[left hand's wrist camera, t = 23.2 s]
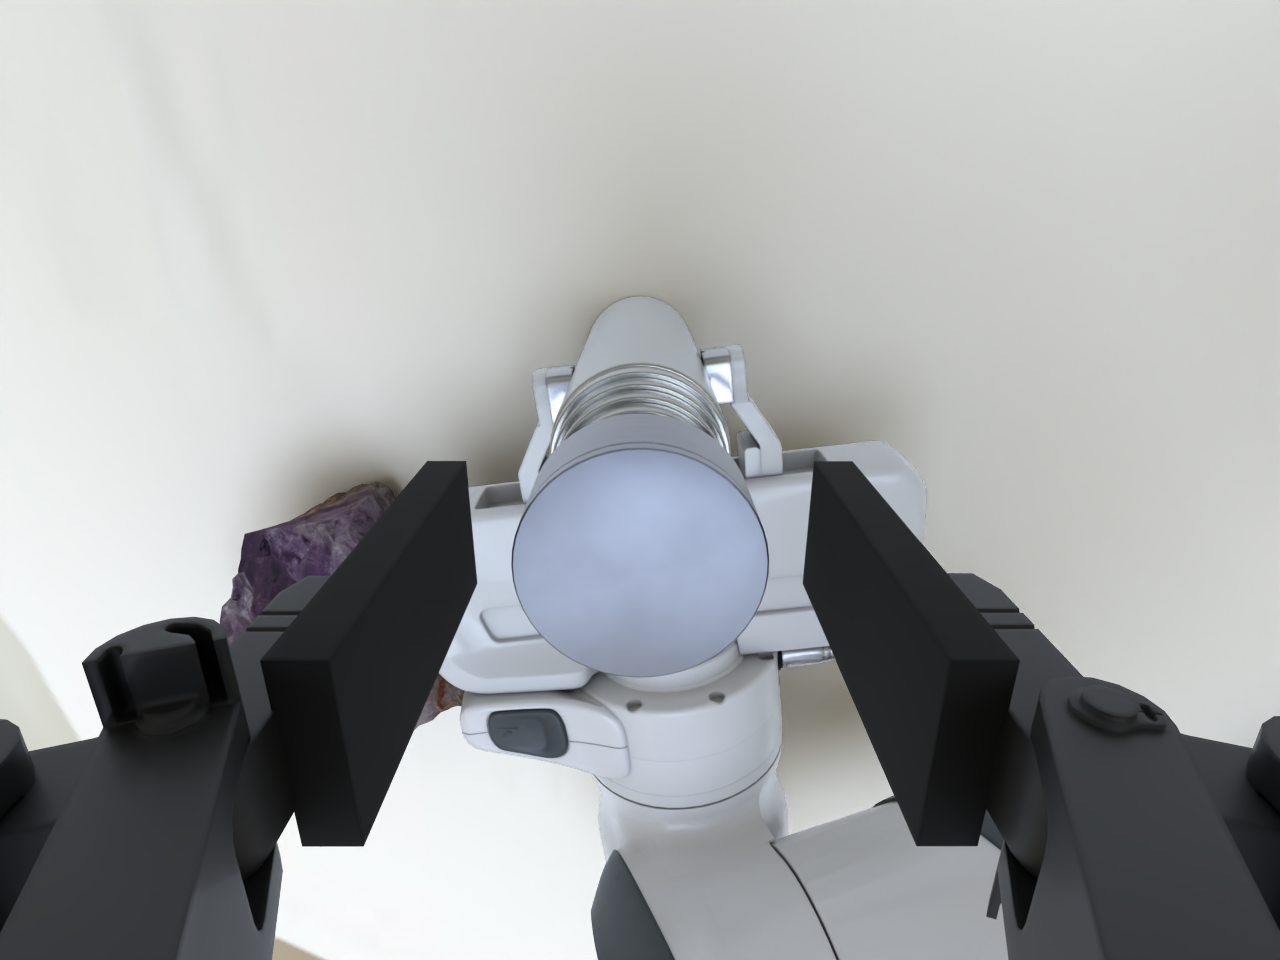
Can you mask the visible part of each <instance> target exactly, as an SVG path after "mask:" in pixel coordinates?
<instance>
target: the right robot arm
mask: <svg viewBox="0 0 1280 960" xmlns="http://www.w3.org/2000/svg"><path fill="white" fill-rule="evenodd" d="M700 358H701V361H702V363H703V366H704V368H705V371H706V373H707V376H708V378H709V381H710V383H711V385H712V388H713V390H714V393H715V395H716V398H717V400H718V403H719V404H724V403H730V405H731V406H732V407H733V409H734V410H735V412H736V413H737V414H738V416H739V417H740V419H741V420H742V421H743V423H744V424H745V426H746V427H747V428H748V430H749V431H740V432H739V433H738V434H737V444H738V456H735V457H732V458H733V459H734V461H735V463H736V464H737V466H738V468H739V469H740V471H741V473H742V475H743V477H744V480H745V482H746V484H747V487H748V490H749V492H750V495H751V497H752V500H753V503H754V505H755V508H756V510H757V513H758V515H759V518H760V521H761V523H762V526H763V528H764V532H765V536H766V540H767V543H768V552H769V575H768V580H767V585H766V590H765V593H764V595H763V598H762V601H761V604H760V606H759V608H758V610H757V612H756V614H755V616H754V617H753V619H752V620H751V622H750V623H749V624H748V626H747V627H746V629H745V630H744V631H743V632H742V633H741V634H740V636H739V637H738V638H737V639H736V640H735V641H734V642H733V643H731V644H730V645H729V646H728V647H727V648H726V649H724V650H723V651H722V652H720V653H719V654H717V655H716V656H714V657H713V658H711V659H709V660H707V661H705V662H703V663H701V664H700V665H698V666H695V667H692V668H690V669H687V670H684V671H681V672H677V673H673V674H669V675H663V676H656V677H624V676H617V675H612V674H607V673H603V672H600V671H597V670H593V669H590V668H588V667H586V666H583V665H581V664H579V663H577V662H575V661H573V660H571V659H570V658H568V657H566V656H565V655H563V654H561V653H560V652H559V651H558V650H556V649H555V648H554V647H552V646H551V645H550V644H549V643H548V642H547V641H546V640H545V639H544V638H543V637H542V636H541V635H540V634H539V633H538V632H537V630H536V629H535V628H534V627H533V625H532V624H531V623H530V621H529V619H528V618H527V616H526V614H525V613H524V611H523V609H522V607H521V605H520V602H519V600H518V597H517V595H516V591H515V587H514V583H513V577H512V567H511V560H512V547H513V542H514V537H515V533H516V531H517V528H518V525H519V522H520V519H521V517H522V514H523V512H524V509H525V506H526V504H527V501H528V499H529V496H530V493H531V491H532V488H533V486H534V483H535V480H536V478H537V476H538V474H539V472H540V470H541V468H542V466H543V465H544V463H545V462H546V460H547V459H548V458H549V454H548V455H547V456H546V451H547V449H548V446H549V444H550V437H551V432H552V427H553V423H554V421H555V418H556V416H557V413H558V411H559V408H560V406H561V403H562V401H563V398H564V396H565V393H566V391H567V388H568V386H569V383H570V381H571V378H572V376H573V373H574V371H575V368H576V366H575V365H568V366H558V367H547V368H541V369H536V370H535V372H534V374H533V375H532V383H533V392H534V398H535V404H536V409H537V415H538V420H539V421H538V423H537V425H536V428H535V430H534V433H533V435H532V438H531V441H530V443H529V446H528V448H527V451H526V454H525V456H524V459H523V461H522V464H521V467H520V469H519V472H518V478H519V481H517V482H508V483H499V484H490V485H482V486H473V487H468V488H469V499H470V509H471V520H472V531H473V541H474V552H475V563H476V574H477V586H476V588H475V590H474V593H473V595H472V597H471V600H470V602H469V604H468V606H467V609H466V611H465V613H464V616H463V618H462V620H461V623H460V625H459V627H458V630H457V632H456V634H455V636H454V639H453V641H452V643H451V646H450V648H449V650H448V653H447V655H446V657H445V660H444V662H443V664H442V666H441V669H440V671H439V674H440V675H441V676H442V677H443V678H444V679H445V680H447V681H448V682H449V683H451V684H452V685H454V686H456V687H457V688H460V689H462V690H465V692H464V696H463V701H462V707H461V713H460V724H461V729H462V733H463V736H464V738H465V740H466V741H467V742H468V743H469V744H470V745H471V746H473V747H475V748H477V749H480V750H483V751H488V752H494V753H500V754H507V755H513V756H519V757H525V758H531V759H536V760H542V761H547V762H551V763H556V764H560V765H564V766H568V767H572V768H575V769H579V770H582V771H585V772H588V773H591V775H592V777H593V778H594V780H595V782H596V783H597V785H598V786H599V788H600V790H601V798H600V803H599V816H598V820H599V829H600V835H601V841H602V846H603V851H604V856H605V860H606V865H605V867H604V870H603V872H602V875H601V878H600V881H599V885H598V888H597V891H596V895H595V898H594V902H593V905H592V909H591V919H592V928H593V936H594V942H595V947H596V952H597V957H598V960H1008V952H1007V944H1006V936H1005V927H1004V919H1003V911H1002V903H1001V904H1000V907H999V911H998V915H997V919H996V920H995V919H992V918H989V917H986V914H987V908H988V902H989V898H990V894H991V890H992V885H993V881H994V877H995V873H996V869H997V865H998V861H999V857H1000V853H1001V849H1002V845H1003V840H1004V839H1003V837H1002V835H1001V833H1000V832H999V830H998V828H997V826H996V825H995V823H994V821H993V819H992V818H991V816H990V814H989V813H988V811H987V809H986V812H985V817H984V821H983V825H982V830H981V834H980V838H979V843H978V846H916V844H915V842H914V840H913V837H912V835H911V833H910V830H909V828H908V826H907V823H906V821H905V819H904V817H903V814H902V812H901V810H900V807H899V805H898V803H897V800H896V798H895V796H892V797H889V798H887V799H885V800H883V801H881V802H879V803H877V804H876V805H875V806H873V807H872V808H870V809H867V810H864V811H861V812H858V813H855V814H852V815H849V816H846V817H843V818H840V819H837V820H834V821H831V822H828V823H825V824H822V825H819V826H816V827H812V828H809V829H806V830H803V831H800V832H797V833H794V834H791V835H788V814H787V805H786V799H785V794H784V790H783V787H782V785H781V782H780V780H779V778H778V775H777V773H776V769H777V766H778V764H779V760H780V756H781V751H782V739H783V732H782V716H781V699H780V685H779V674H778V670H780V668H784V667H794V666H804V665H813V664H820V663H823V662H824V663H825V662H828V661H834V660H835V657H834V655H833V653H832V650H831V648H830V646H829V643H828V641H827V639H826V637H825V634H824V632H823V630H822V627H821V625H820V623H819V620H818V618H817V616H816V613H815V611H814V609H813V607H812V604H811V602H810V600H809V597H808V595H807V593H806V590H805V588H804V586H803V573H804V563H805V552H806V541H807V531H808V520H809V509H810V498H811V488H812V477H813V466H814V461H853V462H854V464H855V465H856V466H857V467H858V468H859V469H860V471H861V472H862V473H863V474H864V475H865V477H866V478H867V479H868V480H869V481H870V483H871V484H872V485H873V486H874V487H875V488H876V490H877V491H878V492H879V493H880V494H881V496H882V497H883V498H884V499H885V500H886V502H887V503H888V504H889V505H890V506H891V508H892V509H893V510H894V511H895V512H896V513H897V515H898V516H899V517H900V518H901V519H902V521H903V522H904V523H905V524H906V525H907V527H908V528H909V529H910V530H911V531H912V533H913V534H914V535H915V536H916V537H917V538H918V540H919V541H920V542H921V543H922V541H923V533H924V525H925V515H926V502H927V490H926V485H925V482H924V480H923V479H922V477H921V475H920V474H919V473H918V471H917V470H916V469H915V468H914V467H913V466H912V464H911V463H910V462H909V461H908V460H907V459H906V458H904V457H903V456H902V455H901V454H900V453H898V452H897V451H896V450H894V449H893V448H892V447H891V446H889V445H888V444H886V443H884V442H882V441H866V442H858V443H849V444H840V445H831V446H823V447H814V448H805V449H796V450H788V451H782V444H781V442H780V440H779V439H778V437H777V435H776V434H775V432H774V430H773V429H772V427H771V425H770V424H769V423H768V421H767V420H766V418H765V417H764V416H763V414H762V413H761V411H760V410H759V409H758V407H757V406H756V404H755V403H754V402H753V400H752V399H751V397H750V396H749V394H748V393H747V380H746V366H745V357H744V352H743V349H742V348H741V346H740V345H739V344H738V345H730V346H722V347H714V348H707V349H700Z"/></svg>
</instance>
